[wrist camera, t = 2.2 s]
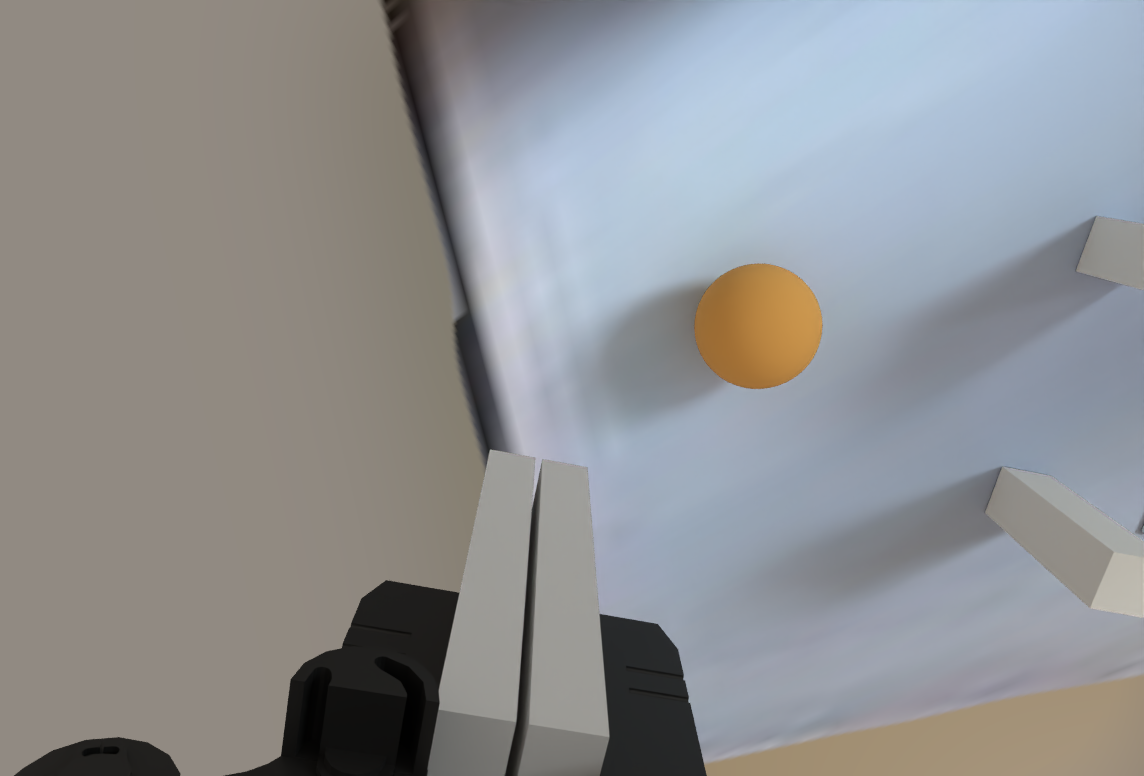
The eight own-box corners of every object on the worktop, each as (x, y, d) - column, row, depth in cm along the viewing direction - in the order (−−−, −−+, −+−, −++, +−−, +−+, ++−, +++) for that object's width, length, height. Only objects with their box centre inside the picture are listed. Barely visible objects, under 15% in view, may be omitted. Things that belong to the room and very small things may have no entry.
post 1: (1050, 475, 43) (1174, 563, 34) (1032, 521, 44) (1148, 618, 35) (1002, 466, 43) (1114, 552, 34) (984, 513, 43) (1089, 608, 35)
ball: (816, 268, 40) (856, 289, 34) (784, 379, 41) (817, 416, 36) (702, 244, 39) (724, 262, 34) (673, 357, 41) (691, 391, 36)
